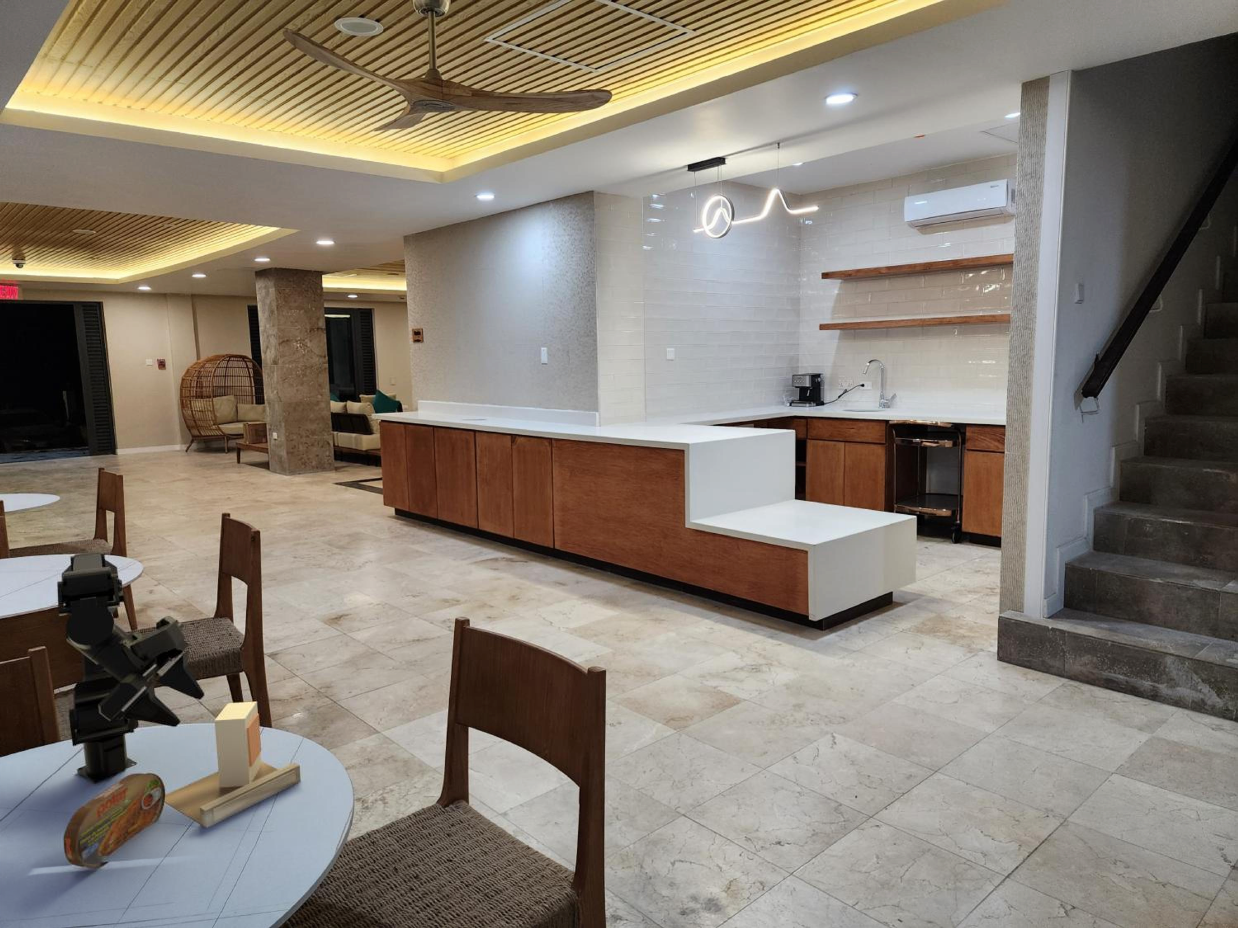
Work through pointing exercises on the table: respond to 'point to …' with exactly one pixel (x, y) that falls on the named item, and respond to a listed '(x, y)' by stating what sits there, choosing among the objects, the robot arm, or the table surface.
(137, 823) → the tin
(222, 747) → the carton
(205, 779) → the shelf
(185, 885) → the table surface
